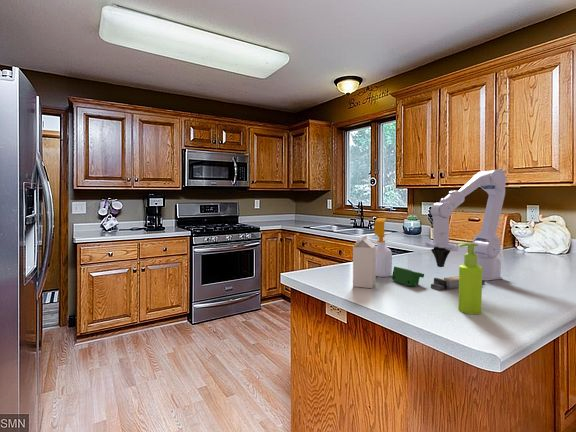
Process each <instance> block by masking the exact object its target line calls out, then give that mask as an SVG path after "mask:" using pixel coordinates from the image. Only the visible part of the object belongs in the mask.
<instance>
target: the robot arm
mask: <svg viewBox="0 0 576 432" xmlns="http://www.w3.org/2000/svg"><path fill="white" fill-rule="evenodd" d="M507 178H508V177H507V175H506V173H505V172H504V171H503V170H502V169H493V170H492V169H491V170H480V171H478V172H477V173H476V174H473V176H472V178H471V179H470V180H468V181H467V182H466V183H465V184H464V185H463V186H462V187H461V188H460V189H459V190H456V189H455V190H450V191H448V194H447V195H446V196H445V197H443V198H440V200H439V202H435V203H433V204H432V205H431V208H430V209H429V212H430V215H431V216H432V220H433V221H432V222H433V223H432V226H433V227H432V240H433V241H425V242H424V244H425V245H424V246H425V247H430V248H431V253H432V254H433V256H434V259H435V262H436V265H437V266H436V267H438V268H444V267H445V263H446V261H447V258H448V256H449V254H450V253H451V251H452V252H458V251H459V246H457V245H456V244H451V243H450V217H451V216H452V215H453V212H454V210H455V209H456V208H458V207H459V206H460V205H461V204H464V202H465V199H466V198H465V197H466V196H468V195H470V194H471V193H473V192H474V191H475V190H477V189H479V188H480V189H482V190H483V191H484V192H486V193H487V195H488V198H487V202H486V207H485V211H484V215H483V218H482V223H481V229H480V231H479V232H478V233H477V234H476V235H475V236H474V238H473V241H472V242H471V243H475V244H478V246H474V253H475V254H476V255H477V256H478V258H477V266H480V267H482V280H485V281H492V280H499V279H503V277H502V276H501V269H502V268H501V266H502V263H501V260H500V258H499V257H498V256H499V255H500V253H501V239H500V237H498V236H497V231H498V227H499V223H500V217H501V214H502V213H501V212H502V210H503V209H502V208H503V205H504V200H505V197H506V184H507V180H508V179H507Z"/></svg>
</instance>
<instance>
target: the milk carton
mask: <svg viewBox="0 0 576 432" xmlns="http://www.w3.org/2000/svg"><path fill="white" fill-rule="evenodd" d="M367 236H368V235H367V234H365V235H364V236H362V237H361V238H362V239H361V238H358V239H357V240H355V243H356V244H355V245H354V246H353V247H352V287H353V288H354V287H357V288H363V289H365V288H366V289H373V288H374V287H375V286H376V276H375V266H376V246H377V245H375V244H374V243H373V242H372V241H371V240H370V239H369V238H368V237H367Z"/></svg>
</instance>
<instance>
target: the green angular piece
mask: <svg viewBox="0 0 576 432" xmlns="http://www.w3.org/2000/svg"><path fill="white" fill-rule="evenodd" d="M424 277H425V273H422V272H418V271H414V270H411V269H408V268H403V267H401V266H400V267H398V266H393V269H392V275H391V280H392V281H394V282H396V283H398V284H402V285H404V286H408V287H412V288H413V287H415V286H416V285H419V284H420V283H419V282H420V278H422V279H423V278H424Z"/></svg>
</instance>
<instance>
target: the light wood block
mask: <svg viewBox="0 0 576 432" xmlns="http://www.w3.org/2000/svg"><path fill="white" fill-rule="evenodd" d="M454 279H457V280H459V275H458V276H449V277H444V278H443V280H454Z"/></svg>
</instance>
